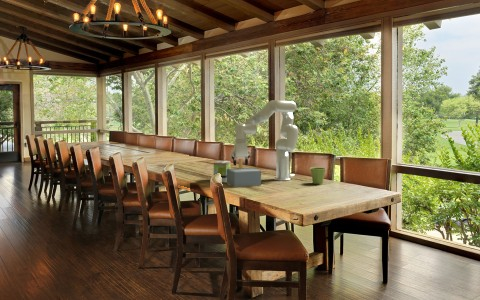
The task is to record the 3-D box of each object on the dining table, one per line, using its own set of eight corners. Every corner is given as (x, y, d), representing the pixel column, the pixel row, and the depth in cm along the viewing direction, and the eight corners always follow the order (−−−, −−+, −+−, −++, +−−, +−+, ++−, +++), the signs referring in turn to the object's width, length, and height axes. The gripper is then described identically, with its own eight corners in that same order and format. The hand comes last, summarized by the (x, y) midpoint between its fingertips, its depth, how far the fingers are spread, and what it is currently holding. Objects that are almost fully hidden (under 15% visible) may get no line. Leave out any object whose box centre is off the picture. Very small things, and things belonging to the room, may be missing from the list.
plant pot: (329, 183, 310) (329, 168, 309) (320, 185, 301) (320, 169, 300) (315, 181, 318) (315, 166, 317) (306, 183, 309) (306, 168, 308)
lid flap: (251, 168, 313) (251, 158, 312) (260, 171, 298) (260, 160, 297) (227, 169, 306) (227, 159, 305) (234, 172, 291) (234, 161, 290)
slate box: (251, 182, 314) (252, 168, 313) (260, 185, 299) (261, 171, 298) (226, 183, 307) (226, 170, 306) (234, 187, 292) (234, 173, 291)
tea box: (226, 182, 311) (226, 162, 309) (213, 182, 313) (213, 162, 311) (230, 179, 325) (230, 160, 324) (218, 179, 327) (218, 160, 326)
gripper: (249, 140, 312) (249, 164, 314) (227, 141, 306) (227, 165, 307) (253, 141, 305) (253, 165, 307) (231, 141, 299) (231, 166, 301)
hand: (240, 165), depth 307 cm, fingers open, 8 cm apart
